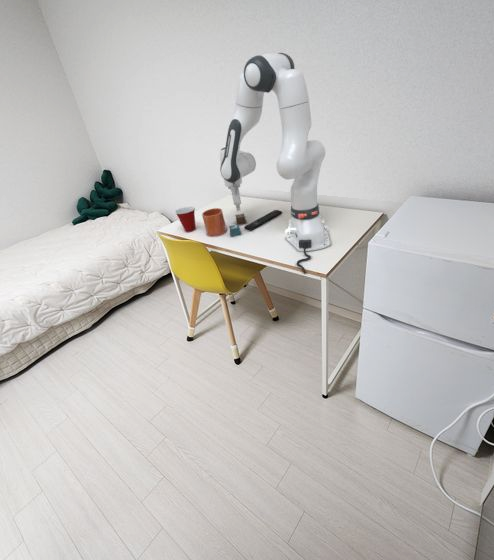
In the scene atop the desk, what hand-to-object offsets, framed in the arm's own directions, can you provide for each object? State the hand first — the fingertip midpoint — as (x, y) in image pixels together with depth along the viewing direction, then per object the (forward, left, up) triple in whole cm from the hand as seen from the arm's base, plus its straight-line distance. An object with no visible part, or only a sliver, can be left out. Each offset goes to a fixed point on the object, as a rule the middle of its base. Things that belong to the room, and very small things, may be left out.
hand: (237, 206), depth 161 cm
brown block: (0, 0, -9) cm, 9 cm away
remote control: (-4, -12, -9) cm, 16 cm away
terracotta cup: (-6, +13, -9) cm, 17 cm away
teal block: (-13, +4, -9) cm, 16 cm away
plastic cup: (+4, +28, -9) cm, 29 cm away
